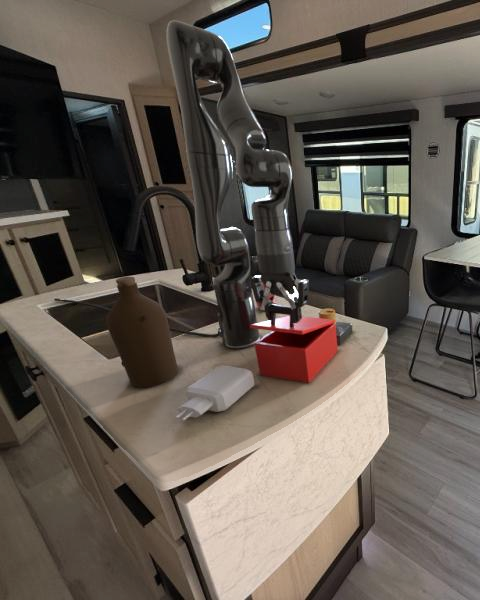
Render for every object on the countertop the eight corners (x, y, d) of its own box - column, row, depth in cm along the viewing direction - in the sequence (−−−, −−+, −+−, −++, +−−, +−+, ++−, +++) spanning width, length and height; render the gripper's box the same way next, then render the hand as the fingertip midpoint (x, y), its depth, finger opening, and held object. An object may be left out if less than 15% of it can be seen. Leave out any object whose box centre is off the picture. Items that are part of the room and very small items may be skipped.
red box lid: (302, 334, 70) (303, 309, 70) (250, 328, 74) (250, 304, 73) (335, 322, 86) (336, 302, 85) (291, 317, 89) (291, 298, 89)
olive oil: (191, 366, 82) (166, 273, 73) (156, 391, 72) (123, 286, 63) (154, 363, 83) (126, 271, 75) (115, 388, 73) (77, 284, 65)
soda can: (270, 312, 116) (265, 281, 112) (253, 311, 117) (248, 280, 113) (281, 305, 122) (277, 275, 118) (264, 304, 124) (260, 274, 120)
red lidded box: (309, 383, 75) (305, 350, 72) (259, 374, 78) (254, 343, 75) (337, 351, 89) (335, 322, 86) (294, 345, 92) (291, 317, 89)
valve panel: (304, 340, 96) (302, 330, 95) (318, 327, 104) (317, 318, 103) (340, 344, 93) (339, 335, 92) (352, 331, 101) (352, 322, 100)
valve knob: (317, 329, 96) (315, 312, 94) (324, 323, 100) (323, 306, 98) (331, 331, 94) (330, 314, 93) (338, 324, 99) (337, 308, 97)
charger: (163, 424, 62) (222, 381, 76) (201, 433, 60) (255, 387, 73) (157, 404, 60) (218, 364, 74) (196, 413, 58) (251, 369, 72)
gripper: (313, 248, 71) (319, 317, 76) (258, 245, 74) (268, 311, 80) (294, 255, 64) (302, 330, 70) (234, 251, 67) (247, 323, 73)
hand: (284, 320), depth 75 cm, fingers closed on red box lid, 6 cm apart
